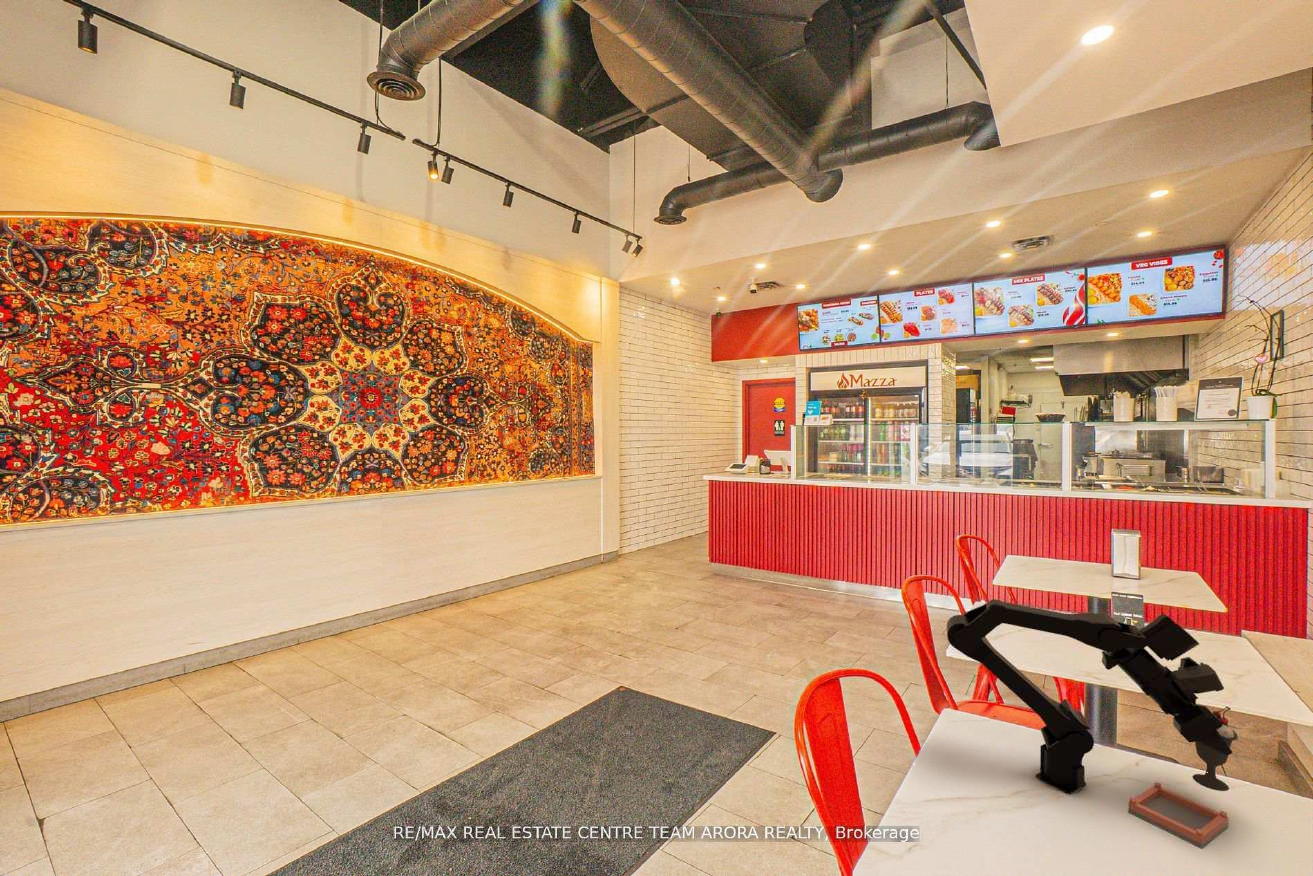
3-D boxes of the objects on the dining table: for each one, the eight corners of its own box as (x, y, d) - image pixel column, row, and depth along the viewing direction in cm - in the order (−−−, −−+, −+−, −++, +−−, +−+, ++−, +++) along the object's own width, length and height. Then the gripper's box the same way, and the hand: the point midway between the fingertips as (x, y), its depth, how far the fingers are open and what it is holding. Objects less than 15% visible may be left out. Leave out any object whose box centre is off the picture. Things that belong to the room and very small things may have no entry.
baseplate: (1128, 812, 109) (1128, 798, 109) (1155, 794, 114) (1155, 781, 114) (1202, 848, 100) (1202, 833, 100) (1228, 827, 105) (1228, 813, 105)
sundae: (1245, 797, 104) (1249, 714, 104) (1200, 790, 106) (1203, 709, 106) (1220, 775, 111) (1224, 697, 110) (1178, 769, 113) (1181, 692, 112)
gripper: (1209, 669, 101) (1293, 747, 97) (1169, 633, 118) (1240, 698, 113) (1149, 704, 105) (1228, 781, 100) (1119, 664, 121) (1186, 729, 117)
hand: (1221, 744), depth 108 cm, fingers closed on sundae, 6 cm apart
